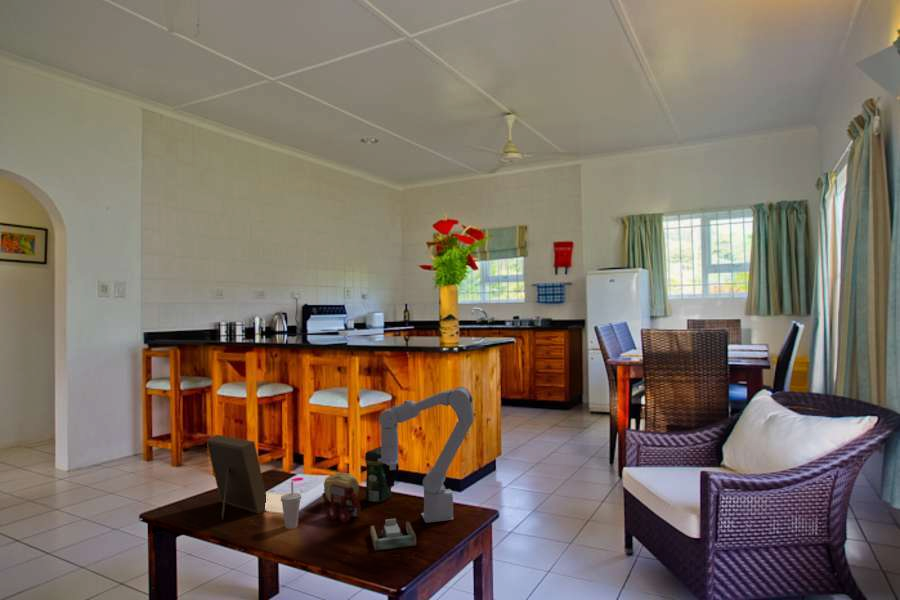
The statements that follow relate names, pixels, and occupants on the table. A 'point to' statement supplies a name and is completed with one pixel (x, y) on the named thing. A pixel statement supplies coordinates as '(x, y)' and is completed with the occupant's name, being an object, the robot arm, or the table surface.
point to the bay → (394, 539)
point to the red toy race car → (343, 503)
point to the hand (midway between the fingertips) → (390, 486)
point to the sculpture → (340, 483)
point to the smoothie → (291, 508)
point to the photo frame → (237, 473)
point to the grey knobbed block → (391, 529)
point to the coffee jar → (376, 478)
